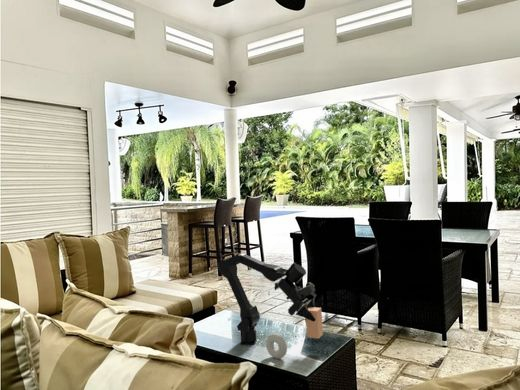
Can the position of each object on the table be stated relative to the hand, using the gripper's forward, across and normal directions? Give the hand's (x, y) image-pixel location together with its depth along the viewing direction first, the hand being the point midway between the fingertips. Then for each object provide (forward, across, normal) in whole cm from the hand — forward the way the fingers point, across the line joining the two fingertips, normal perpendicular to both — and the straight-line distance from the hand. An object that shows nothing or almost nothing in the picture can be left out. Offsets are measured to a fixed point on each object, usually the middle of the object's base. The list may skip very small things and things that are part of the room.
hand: (317, 318), depth 165 cm
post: (+4, 0, +6) cm, 7 cm away
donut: (0, -12, +19) cm, 23 cm away
